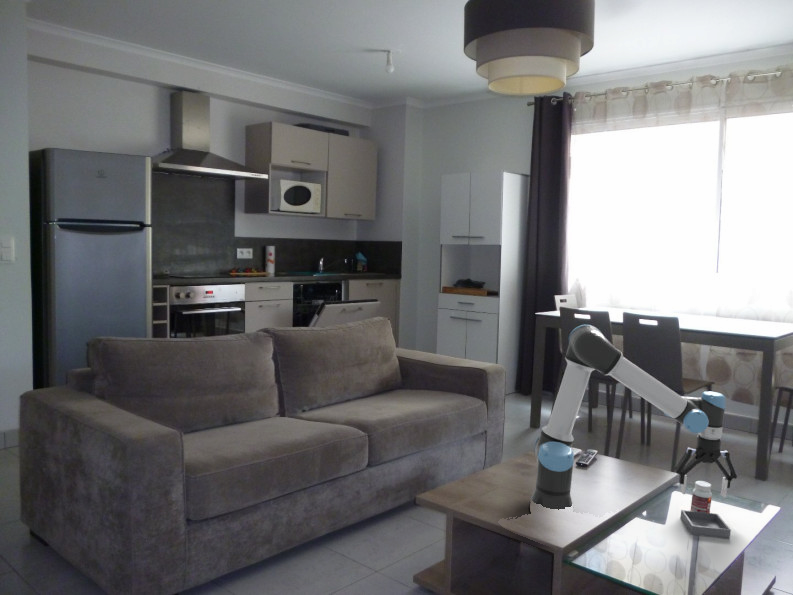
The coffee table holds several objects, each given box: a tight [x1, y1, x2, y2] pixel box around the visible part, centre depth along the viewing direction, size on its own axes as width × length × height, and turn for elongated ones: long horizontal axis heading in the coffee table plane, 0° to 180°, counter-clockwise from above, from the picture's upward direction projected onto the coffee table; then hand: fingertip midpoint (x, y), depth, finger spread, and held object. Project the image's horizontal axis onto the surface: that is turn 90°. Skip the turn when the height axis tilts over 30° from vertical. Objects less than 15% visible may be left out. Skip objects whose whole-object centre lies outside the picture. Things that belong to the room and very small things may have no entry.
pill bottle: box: [690, 480, 713, 513], centre depth 231 cm, size 6×6×11 cm
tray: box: [679, 509, 732, 540], centre depth 221 cm, size 12×12×3 cm
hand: (703, 494), depth 231 cm, fingers open, 13 cm apart
